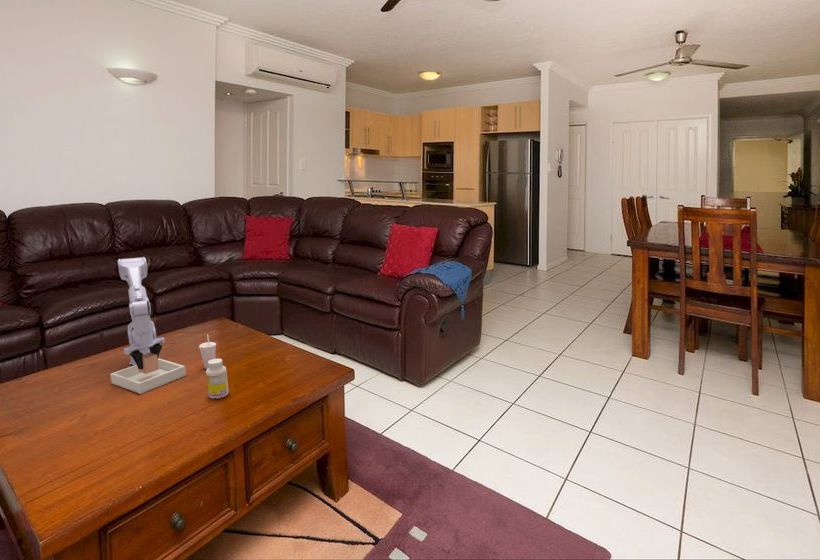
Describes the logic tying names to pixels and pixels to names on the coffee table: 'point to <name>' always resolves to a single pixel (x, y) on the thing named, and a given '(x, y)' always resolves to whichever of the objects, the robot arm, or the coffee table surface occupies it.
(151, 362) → the brown cube block
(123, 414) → the coffee table surface
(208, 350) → the smoothie
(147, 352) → the robot arm
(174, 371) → the tray
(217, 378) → the supplement bottle
